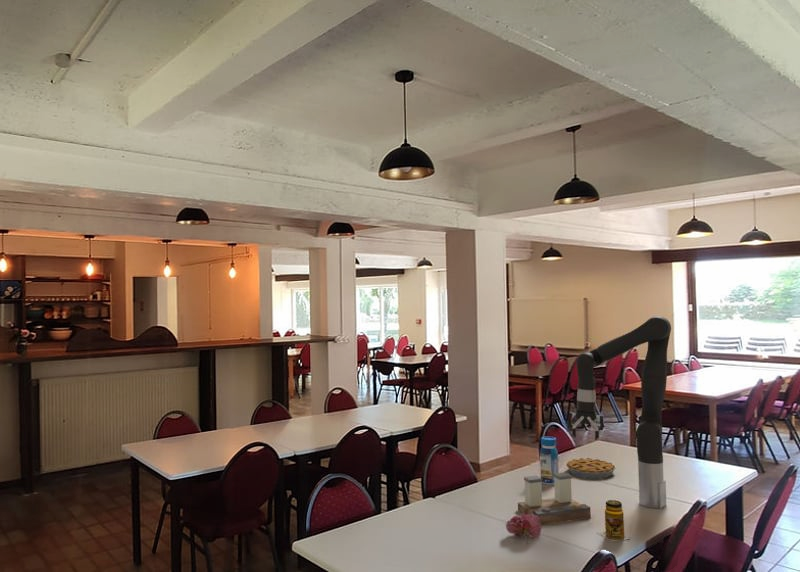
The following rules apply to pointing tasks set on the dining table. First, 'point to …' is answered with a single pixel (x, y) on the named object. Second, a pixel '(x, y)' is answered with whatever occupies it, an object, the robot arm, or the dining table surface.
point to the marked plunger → (563, 487)
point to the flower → (524, 525)
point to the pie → (590, 468)
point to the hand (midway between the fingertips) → (585, 438)
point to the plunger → (533, 491)
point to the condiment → (614, 521)
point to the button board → (556, 511)
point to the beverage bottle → (548, 460)
